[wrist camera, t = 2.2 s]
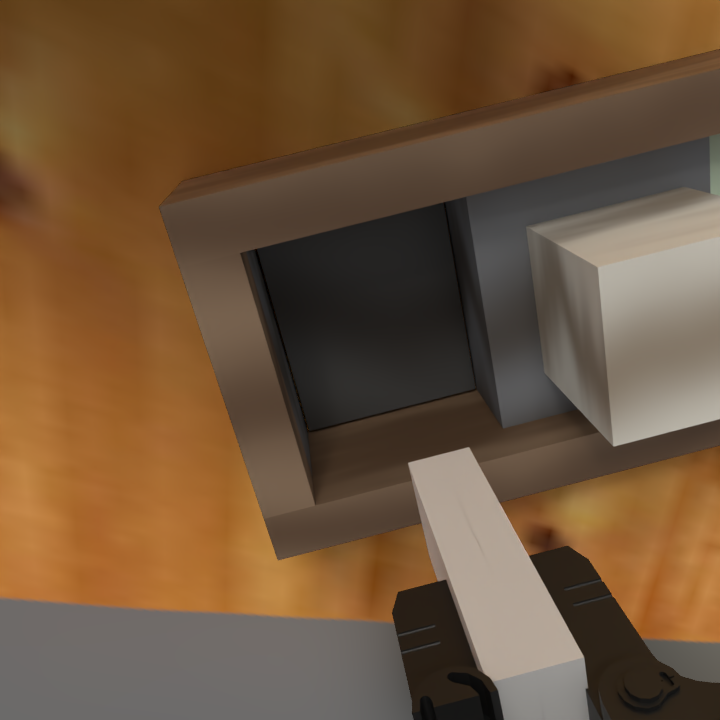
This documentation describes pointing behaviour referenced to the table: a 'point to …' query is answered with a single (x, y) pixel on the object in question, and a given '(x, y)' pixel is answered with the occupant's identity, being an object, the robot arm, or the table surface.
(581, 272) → the block
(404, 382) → the trap box
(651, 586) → the table surface
